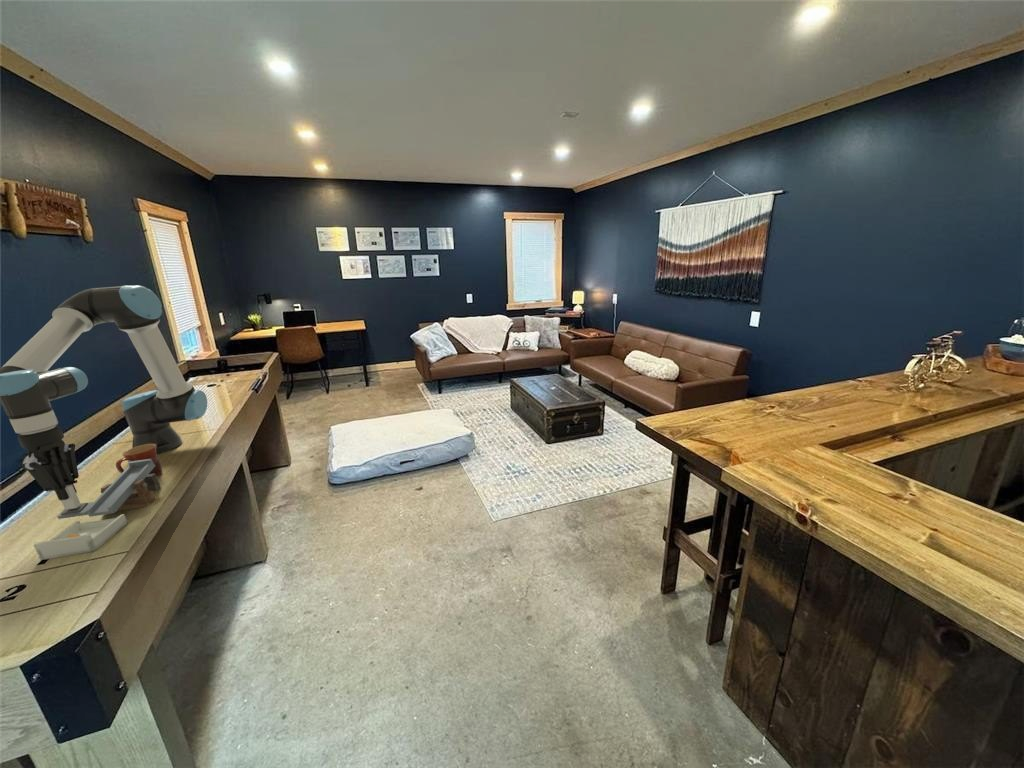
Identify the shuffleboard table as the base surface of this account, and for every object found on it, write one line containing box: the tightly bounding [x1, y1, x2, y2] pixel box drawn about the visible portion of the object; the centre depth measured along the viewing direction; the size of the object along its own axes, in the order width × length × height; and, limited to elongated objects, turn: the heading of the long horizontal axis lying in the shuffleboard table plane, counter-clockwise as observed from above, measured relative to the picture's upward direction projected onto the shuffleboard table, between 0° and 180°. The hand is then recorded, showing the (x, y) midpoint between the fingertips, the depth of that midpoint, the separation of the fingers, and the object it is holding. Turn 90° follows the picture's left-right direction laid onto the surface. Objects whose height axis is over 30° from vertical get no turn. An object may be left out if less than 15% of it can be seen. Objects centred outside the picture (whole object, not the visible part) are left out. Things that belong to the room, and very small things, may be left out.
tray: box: [33, 513, 129, 561], centre depth 104 cm, size 12×12×4 cm
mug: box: [115, 444, 163, 477], centre depth 135 cm, size 12×9×10 cm
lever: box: [56, 459, 155, 520], centre depth 117 cm, size 20×14×3 cm
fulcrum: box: [100, 473, 162, 512], centre depth 123 cm, size 12×11×8 cm
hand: (73, 507), depth 110 cm, fingers closed
